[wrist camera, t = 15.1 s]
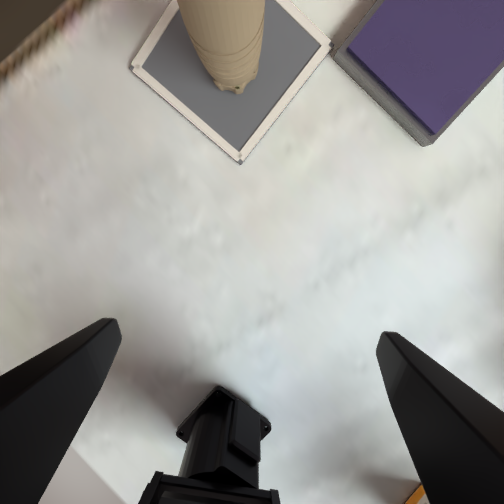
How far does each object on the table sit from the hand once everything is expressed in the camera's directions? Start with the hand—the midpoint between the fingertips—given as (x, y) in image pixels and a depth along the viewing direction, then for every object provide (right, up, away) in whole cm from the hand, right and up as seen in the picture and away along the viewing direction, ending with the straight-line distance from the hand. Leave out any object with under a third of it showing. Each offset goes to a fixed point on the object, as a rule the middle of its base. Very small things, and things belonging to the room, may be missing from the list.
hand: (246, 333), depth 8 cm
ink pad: (+12, +17, +9) cm, 22 cm away
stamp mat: (-1, +16, +9) cm, 19 cm away
